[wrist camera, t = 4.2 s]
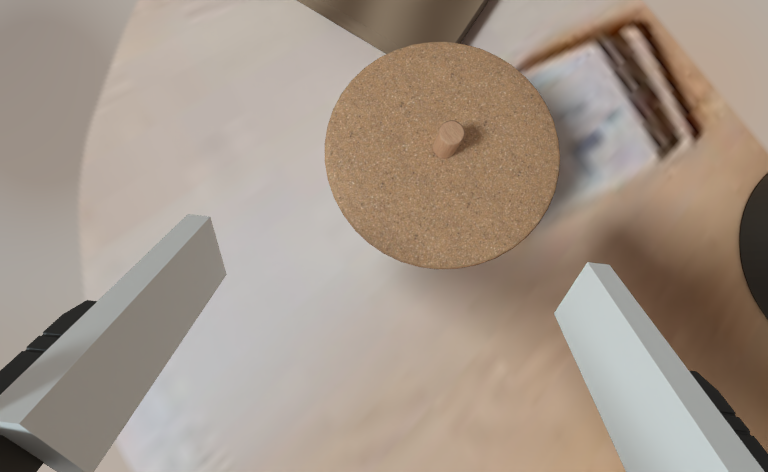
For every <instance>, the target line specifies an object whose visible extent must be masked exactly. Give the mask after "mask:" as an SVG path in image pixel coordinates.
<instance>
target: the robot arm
mask: <svg viewBox="0 0 768 472" xmlns="http://www.w3.org/2000/svg"><path fill="white" fill-rule="evenodd" d="M740 251H741V259H742V264H743V269H744V273H745V276H746V279H747V282H748V285H749V287H750V290H751V292H752V294H753V296H754V298H755V300H756V302H757V303H758V305H759V307H760V308H761V310H762V311H763V313H764V314H765V316H766V317H767V318H768V174H767V175H766V176H765V177H764V178H763V179H762V181H761V182H760V183H759V184H758V186H757V187H756V189H755V190H754V192H753V193H752V195H751V197H750V199H749V201H748V203H747V206H746V209H745V211H744V215H743V219H742V224H741V232H740ZM225 276H226V271H225V267H224V264H223V260H222V257H221V253H220V250H219V246H218V243H217V239H216V236H215V232H214V228H213V225H212V221H211V218H210V217H208V216H199V215H191V214H188V215H187V216H186V217H185V218H184V219H183V220H181V221H180V222H179V223H178V224H177V225H176V226H175V227H174V228H173V229H172V230H171V231H170V232H169V233H168V234H167V235H166V236H165V237H164V238H163V239H162V240H161V241H160V242H159V243H158V244H157V245H156V246H154V247H153V248H152V249H151V250H150V251H149V252H148V253H147V254H146V255H145V256H144V257H143V258H142V259H141V260H140V261H139V262H138V263H137V264H136V265H135V266H134V267H133V268H132V269H131V270H130V271H128V272H127V273H126V274H125V275H124V276H123V277H122V278H121V279H120V280H119V281H118V282H117V283H116V284H115V285H114V286H113V287H112V288H111V289H110V290H109V291H108V292H107V293H106V294H105V295H104V296H102V297H101V298H100V299H99V300H98V301H89V300H87V301H85V302H83V303H82V304H80V305H78V306H76V307H75V308H73V309H71V310H70V311H68V312H66V313H64V314H63V315H62V316H61V317H59V319H57V320H56V321H55V322H54V323H53V324H52V325H51V326H49V328H47V329H46V330H45V331H44V332H43V335H42V336H38V337H37V338H36V339H35V340H34V341H33V342H32V343H31V344H30V345H29V346H27V349H26V351H22V352H21V353H20V354H18V355H17V356H16V357H15V358H14V359H13V360H12V361H11V362H10V363H9V364H7V365H6V366H5V367H4V368H3V369H2V370H1V371H0V472H37V471H38V469H39V468H40V467H41V465H42V464H43V463H44V464H46V465H47V466H49V467H50V468H52V469H54V470H55V471H57V472H94V471H95V469H96V468H97V466H98V465H99V463H100V462H101V460H102V459H103V457H104V456H105V455H106V453H107V452H108V450H109V449H110V447H111V446H112V444H113V443H114V441H115V440H116V438H117V437H118V435H119V434H120V432H121V431H122V429H123V428H124V426H125V425H126V423H127V422H128V420H129V419H130V417H131V416H132V414H133V413H134V411H135V410H136V408H137V407H138V405H139V404H140V402H141V401H142V399H143V398H144V396H145V395H146V393H147V392H148V390H149V389H150V388H151V386H152V385H153V383H154V382H155V380H156V379H157V377H158V376H159V374H160V373H161V371H162V370H163V368H164V367H165V365H166V364H167V362H168V361H169V359H170V358H171V356H172V355H173V353H174V352H175V350H176V349H177V347H178V346H179V344H180V343H181V341H182V340H183V338H184V337H185V335H186V334H187V332H188V331H189V329H190V328H191V326H192V325H193V323H194V322H195V321H196V319H197V318H198V316H199V315H200V313H201V312H202V310H203V309H204V307H205V306H206V304H207V303H208V301H209V300H210V298H211V297H212V295H213V294H214V292H215V291H216V289H217V288H218V286H219V285H220V283H221V282H222V280H223V279H224V277H225ZM554 315H555V317H556V319H557V321H558V324H559V326H560V328H561V330H562V332H563V335H564V337H565V339H566V341H567V343H568V345H569V348H570V350H571V352H572V354H573V356H574V359H575V361H576V363H577V365H578V367H579V370H580V372H581V374H582V376H583V378H584V381H585V383H586V385H587V387H588V389H589V391H590V394H591V396H592V398H593V400H594V402H595V405H596V407H597V409H598V411H599V413H600V416H601V418H602V420H603V422H604V424H605V427H606V429H607V431H608V433H609V435H610V438H611V440H612V442H613V444H614V446H615V448H616V451H617V453H618V455H619V457H620V459H621V462H622V464H623V466H624V468H625V470H626V472H768V454H767V452H766V451H765V450H764V448H763V447H762V446H761V445H760V443H759V442H758V441H757V440H756V438H755V437H754V436H751V435H750V431H749V429H748V428H747V427H746V426H745V424H744V423H743V422H742V421H741V419H740V418H739V417H736V416H735V412H734V410H733V409H732V408H731V407H730V405H729V404H728V403H727V401H726V400H725V399H724V398H723V396H722V395H721V394H720V393H719V391H718V390H717V389H715V388H714V387H713V386H712V385H711V384H710V383H709V382H708V381H706V380H705V379H704V378H703V377H702V376H701V375H700V374H698V373H697V372H696V371H689V370H688V369H687V368H686V366H685V365H684V364H683V362H682V361H681V360H680V358H679V357H678V356H677V354H676V353H675V352H674V350H673V349H672V348H671V346H670V345H669V344H668V342H667V341H666V340H665V338H664V337H663V336H662V334H661V333H660V332H659V330H658V329H657V328H656V326H655V325H654V324H653V322H652V321H651V320H650V318H649V317H648V316H647V314H646V313H645V312H644V310H643V309H642V308H641V306H640V305H639V304H638V302H637V301H636V300H635V298H634V297H633V296H632V294H631V293H630V292H629V290H628V289H627V288H626V286H625V285H624V284H623V282H622V281H621V280H620V278H619V277H618V276H617V274H616V273H615V272H614V270H613V269H612V268H611V266H610V265H608V264H599V263H591V262H587V264H586V265H585V267H584V268H583V270H582V271H581V273H580V274H579V276H578V277H577V279H576V280H575V282H574V283H573V285H572V286H571V288H570V290H569V291H568V293H567V294H566V296H565V297H564V299H563V300H562V302H561V303H560V305H559V306H558V308H557V309H556V311H555V312H554Z"/></svg>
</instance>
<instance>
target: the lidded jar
mask: <svg viewBox="0 0 768 472" xmlns="http://www.w3.org/2000/svg"><path fill="white" fill-rule="evenodd" d="M559 164H560V152H559V142H558V136H557V133H556V129H555V125H554V121H553V119H552V117H551V114H550V112H549V110H548V108H547V106H546V104H545V102H544V101H543V99H542V97H541V96H540V94H539V93H538V91H537V90H536V88H535V87H534V86H533V85H532V84H531V83H530V82H529V81H528V80H527V78H526V77H525V76H523V75H522V74H521V73H520V72H519V71H518V70H517V69H515V68H514V67H513V66H512V65H510V64H509V63H507V62H506V61H504V60H502V59H501V58H499V57H497V56H495V55H493V54H491V53H489V52H487V51H484V50H482V49H479V48H476V47H472V46H468V45H464V44H458V43H451V42H428V43H421V44H414V45H410V46H407V47H404V48H401V49H398V50H395V51H392V52H390V53H388V54H386V55H384V56H382V57H380V58H378V59H377V60H375V61H374V62H373V63H371V64H370V65H368V66H367V67H366V68H364V69H363V70H362V71H361V72H360V73H359V74H358V75H357V76H356V77H355V78H354V79H353V80H352V81H351V82H350V83H349V85H348V86H347V87H346V89H345V90H344V91H343V93H342V94H341V96H340V98H339V100H338V101H337V103H336V105H335V107H334V109H333V112H332V115H331V118H330V121H329V124H328V127H327V133H326V139H325V165H326V171H327V177H328V181H329V184H330V187H331V190H332V193H333V196H334V198H335V200H336V202H337V204H338V206H339V208H340V209H341V211H342V213H343V215H344V216H345V218H346V219H347V220H348V222H349V223H350V224H351V225H352V227H353V228H354V229H355V231H356V232H357V233H359V234H360V235H361V236H362V237H363V238H364V239H365V240H366V241H367V242H368V243H369V244H371V245H372V246H374V247H375V248H377V249H378V250H379V251H381V252H382V253H384V254H386V255H388V256H390V257H392V258H394V259H397V260H399V261H401V262H404V263H408V264H411V265H414V266H418V267H424V268H432V269H458V268H463V267H469V266H474V265H478V264H481V263H484V262H487V261H489V260H492V259H495V258H497V257H499V256H500V255H502V254H504V253H506V252H507V251H509V250H511V249H513V248H514V247H515V246H516V245H517V244H519V243H520V242H521V241H522V240H524V239H525V238H526V237H527V236H528V235H529V234H530V233H531V232H532V230H533V229H534V228H535V227H536V226H537V225H538V224H539V222H540V220H541V219H542V217H543V216H544V214H545V212H546V211H547V209H548V207H549V205H550V202H551V200H552V198H553V195H554V193H555V189H556V185H557V180H558V176H559Z"/></svg>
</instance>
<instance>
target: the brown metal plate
mask: <svg viewBox="0 0 768 472" xmlns="http://www.w3.org/2000/svg"><path fill="white" fill-rule="evenodd" d="M297 1H299V2H301V3H302V4H304V5H306V6H307V7H309V8H311V9H312V10H314V11H316V12H317V13H319V14H321V15H322V16H324V17H326V18H327V19H329V20H331V21H332V22H334V23H336V24H337V25H339V26H341V27H342V28H344V29H346V30H347V31H349V32H351V33H352V34H354V35H356V36H357V37H359V38H361V39H362V40H364V41H366V42H367V43H369V44H371V45H372V46H374V47H376V48H378V49H379V50H381V51H383V52H384V53H386V54H388V53H390V52H392V51H395V50H398V49H401V48H404V47H407V46H410V45H414V44H421V43H428V42H451V43H458V44H460V43H461V41H462V40H463V38H464V37H465V35H466V34H467V32H468V31H469V29H470V28H471V26H472V25H473V23H474V22H475V20H476V19H477V17H478V16H479V14H480V13H481V11H482V10H483V8H484V7H485V5H486V4H487V2H488V1H489V0H297Z"/></svg>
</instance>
